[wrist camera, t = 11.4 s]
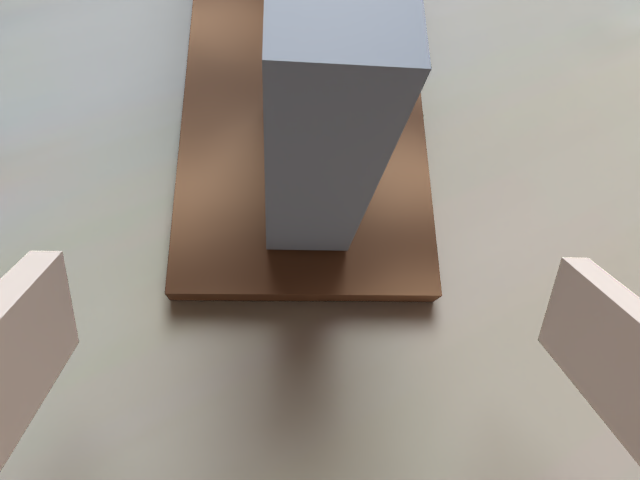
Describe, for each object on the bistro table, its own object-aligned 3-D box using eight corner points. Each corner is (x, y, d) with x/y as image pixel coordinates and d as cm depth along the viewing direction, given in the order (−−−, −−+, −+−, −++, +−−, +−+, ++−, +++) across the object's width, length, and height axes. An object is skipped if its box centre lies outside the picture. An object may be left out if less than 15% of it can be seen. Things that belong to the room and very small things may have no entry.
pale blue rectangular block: (347, 250, 18) (430, 68, 9) (266, 249, 18) (262, 59, 8) (341, 93, 20) (401, -182, 11) (269, 89, 20) (270, -196, 11)
